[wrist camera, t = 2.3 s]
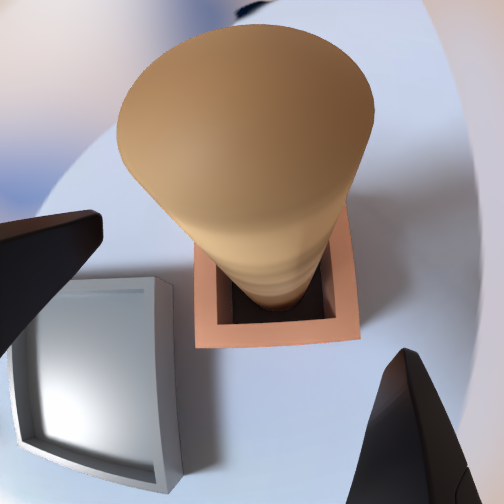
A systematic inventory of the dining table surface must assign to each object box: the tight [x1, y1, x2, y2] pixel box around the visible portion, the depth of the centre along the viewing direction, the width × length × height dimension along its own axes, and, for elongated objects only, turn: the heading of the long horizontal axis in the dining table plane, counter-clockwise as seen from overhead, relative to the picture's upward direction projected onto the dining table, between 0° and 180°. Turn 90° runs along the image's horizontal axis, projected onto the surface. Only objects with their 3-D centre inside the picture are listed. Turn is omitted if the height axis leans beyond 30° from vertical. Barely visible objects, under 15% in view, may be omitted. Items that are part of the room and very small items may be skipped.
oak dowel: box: [117, 24, 375, 311], centre depth 10 cm, size 4×4×14 cm
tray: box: [7, 277, 183, 494], centre depth 15 cm, size 12×12×3 cm
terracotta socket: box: [194, 201, 361, 348], centre depth 15 cm, size 7×7×4 cm
